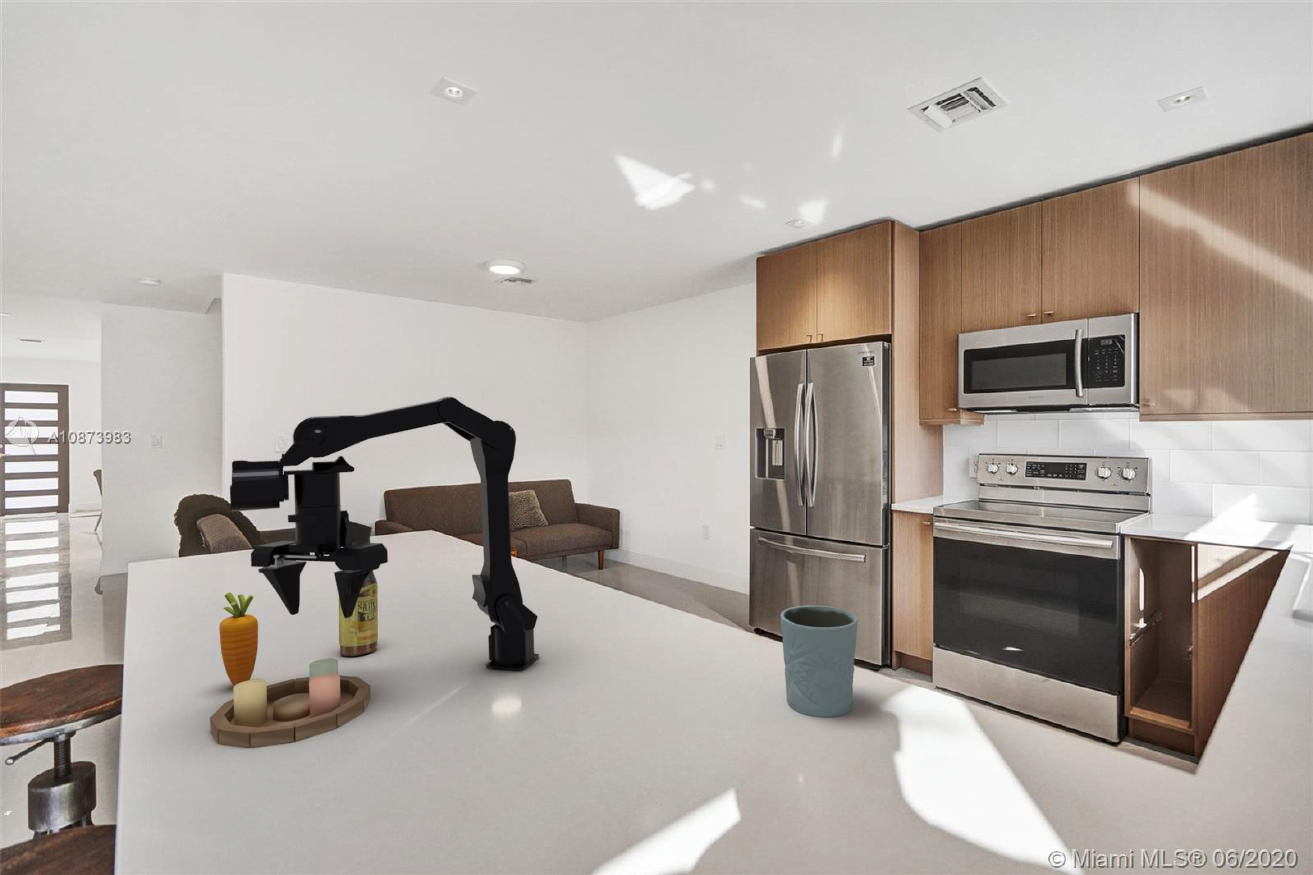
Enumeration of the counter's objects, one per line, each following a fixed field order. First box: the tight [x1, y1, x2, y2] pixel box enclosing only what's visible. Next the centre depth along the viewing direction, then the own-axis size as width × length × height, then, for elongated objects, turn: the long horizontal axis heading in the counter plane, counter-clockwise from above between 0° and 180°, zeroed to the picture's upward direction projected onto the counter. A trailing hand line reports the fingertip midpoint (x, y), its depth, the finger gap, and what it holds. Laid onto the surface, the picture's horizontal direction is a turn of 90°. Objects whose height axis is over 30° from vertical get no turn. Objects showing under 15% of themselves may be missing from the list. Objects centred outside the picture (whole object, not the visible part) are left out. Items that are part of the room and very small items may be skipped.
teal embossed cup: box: [780, 604, 859, 718], centre depth 85 cm, size 10×10×12 cm
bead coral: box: [309, 673, 341, 718], centre depth 84 cm, size 4×4×5 cm
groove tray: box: [209, 674, 372, 748], centre depth 85 cm, size 18×18×2 cm
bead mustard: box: [232, 678, 267, 727], centre depth 83 cm, size 4×4×5 cm
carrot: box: [219, 591, 259, 687], centre depth 95 cm, size 5×5×15 cm
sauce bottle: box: [338, 539, 379, 657], centre depth 112 cm, size 7×6×20 cm
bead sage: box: [308, 657, 339, 680], centre depth 90 cm, size 4×4×5 cm
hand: (321, 615), depth 90 cm, fingers open, 9 cm apart
